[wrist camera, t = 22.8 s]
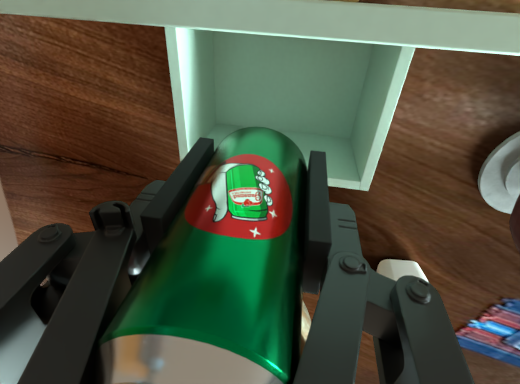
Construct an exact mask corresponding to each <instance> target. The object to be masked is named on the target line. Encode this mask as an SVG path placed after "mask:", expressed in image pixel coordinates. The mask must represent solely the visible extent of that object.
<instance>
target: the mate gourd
mask: <svg viewBox="0 0 520 384" xmlns="http://www.w3.org/2000/svg"><path fill="white" fill-rule="evenodd" d="M478 188H479V191H480V193H481V196H482V197H483V198H484V199H485V201H486V202H487V203H488V204H489V205H490V206H492V207H493V208H495V209H497V210H499V211H502V212H505V213H510V214H511V217H510V221H509V222H510V231H511V234H512V237H513V240H514V243H515V245H516V247H517V250H518V251H519V253H520V131H519V132H517V133H515V134H514V135H512V136H510V137H509V138H507V139H506V140H505V141H503V142H502V143H501V144H500V145H498V146H497V147H496V148H495V149H494V150H493V151H492V152H491V153H490V155H489V156H488V157H487V159H486V160H485V162H484V163H483V165H482V167H481V170H480V172H479V176H478Z"/></svg>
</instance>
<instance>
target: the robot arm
mask: <svg viewBox="0 0 520 384" xmlns="http://www.w3.org/2000/svg"><path fill="white" fill-rule="evenodd" d="M213 153H214V139H210V138H202V137H200V138H199V139H198V140H197V142H196V143H195V144H194V146H193V147H192V148H191V149H190V151H189V152H188V153H187V155H186V156H185V157H184V159H183V160H182V161H181V162H180V164H179V165H178V166H177V168H176V169H175V170H174V172H173V173H172V174H171V175H170V177H169V178H168V179H167V181H161V180H155V181H153V182H152V183H150V184H148V185H147V186H146V187H145V188H144V189H143V190H142V191H141V194H139V195H138V196H137V197H136V200H134V201H133V202H132V203H131V204H130V206H128V205H127V203H124V202H122V201H107V202H104V203H101V204H99V205H97V206H95V207H94V208H92V210H91V211H90V212H89V215H90V217H91V220H92V223H93V225H94V228H95V231H92V232H82V233H73V231H72V229H71V227H70V226H69V225H66V224H63V223H55V224H51V225H47V226H44V227H42V228H40V229H38V230H37V231H35V232H34V233H32V234H31V235H30V236H29V237H28V238H27V239H26V240H25V241H23V242H22V243H21V244H20V245H19V246H18V247H17V248H16V249H14V250H13V251H12V252H11V253H10V254H9V255H8V256H7V257H5V258H4V259H3V260H2V261H1V262H0V384H94V358H95V347H96V344H97V342H98V340H99V339H100V337H101V335H102V334H103V332H104V330H105V329H106V327H107V326H108V324H109V322H110V321H111V319H112V317H113V316H114V314H115V313H116V311H117V309H118V308H119V306H120V304H121V303H122V301H123V299H124V298H125V296H126V295H127V293H128V291H129V290H130V288H131V286H132V285H133V283H134V282H135V280H136V278H137V277H138V275H139V273H140V272H141V270H142V268H143V267H144V265H145V264H146V262H147V260H148V259H149V257H150V255H151V254H152V252H153V251H154V249H155V247H156V246H157V244H158V242H159V241H160V239H161V237H162V236H163V234H164V233H165V231H166V229H167V228H168V226H169V224H170V223H171V221H172V220H173V218H174V216H175V215H176V213H177V211H178V210H179V208H180V206H181V205H182V203H183V202H184V200H185V198H186V197H187V195H188V193H189V192H190V190H191V189H192V187H193V185H194V184H195V182H196V180H197V179H198V177H199V176H200V174H201V172H202V171H203V169H204V167H205V166H206V164H207V162H208V161H209V159H210V158H211V156H212V154H213ZM45 278H47V279H48V281H47V282H46V283H45V284H44V285H43V286H40V284H41V283H42V282H43V280H44V279H45ZM319 289H320V297H319V300H318V303H317V306H316V310H315V313H314V316H313V319H312V323H311V326H310V329H309V332H308V336H307V339H306V342H305V346H304V349H303V352H302V355H301V359H300V362H299V365H298V368H297V372H296V375H295V378H294V382H293V384H354V383H355V376H356V369H357V362H358V356H359V349H360V342H361V335H362V331H365V332H367V333H369V334H371V335H373V341H374V348H375V354H376V361H377V367H378V374H379V381H380V384H475V383H474V381H473V378H472V376H471V373H470V370H469V368H468V365H467V363H466V360H465V358H464V355H463V353H462V350H461V347H460V345H459V342H458V340H457V337H456V335H455V332H454V330H453V327H452V324H451V322H450V319H449V317H448V314H447V312H446V309H445V307H444V304H443V301H442V299H441V296H440V295H439V293H438V291H437V290H436V289H435V288H434V287H433V286H432V285H431V284H430V283H429V282H427V281H425V280H424V279H422V278H419V277H416V276H413V275H405V276H402V277H400V278H399V279H398V280H397V281H395V280H393V279H390V278H388V277H385V276H383V275H381V274H379V273H377V272H375V271H374V270H373V269H371V268H370V265H369V264H368V262H367V260H366V259H364V258H363V255H362V250H361V245H360V239H359V234H358V230H357V223H356V217H355V213H354V211H353V210H352V209H351V207H350V206H349V205H347V204H340V203H332V202H329V192H328V178H327V164H326V152H322V151H313V150H311V151H310V157H309V163H308V169H307V189H306V217H305V245H304V273H303V292H305V293H312V294H318V293H319Z"/></svg>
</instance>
